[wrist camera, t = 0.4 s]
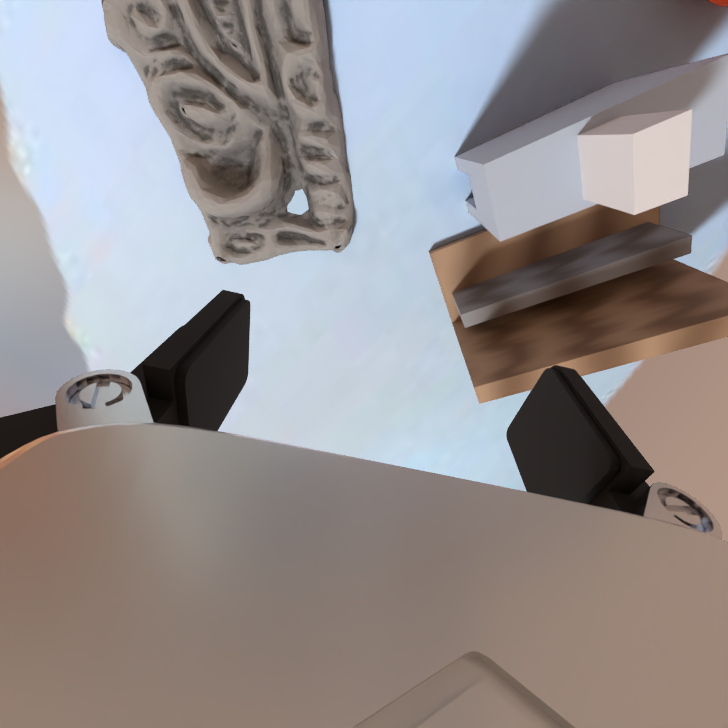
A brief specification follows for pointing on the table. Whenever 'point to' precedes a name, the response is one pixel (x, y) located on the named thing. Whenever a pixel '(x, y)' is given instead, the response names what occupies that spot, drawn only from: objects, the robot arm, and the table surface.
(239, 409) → the table surface
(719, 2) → the clementine
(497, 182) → the white box with handle
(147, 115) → the table surface
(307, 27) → the wall plaque
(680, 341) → the wooden stand
